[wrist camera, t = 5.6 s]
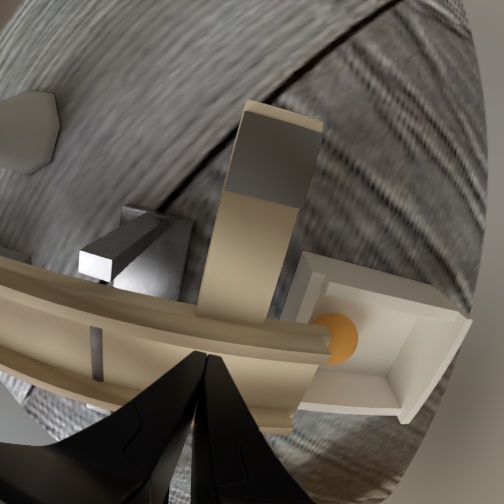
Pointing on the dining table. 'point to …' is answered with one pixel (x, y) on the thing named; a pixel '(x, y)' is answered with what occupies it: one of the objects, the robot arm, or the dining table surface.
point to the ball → (339, 336)
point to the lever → (178, 313)
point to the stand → (141, 255)
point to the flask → (28, 131)
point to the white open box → (376, 337)
